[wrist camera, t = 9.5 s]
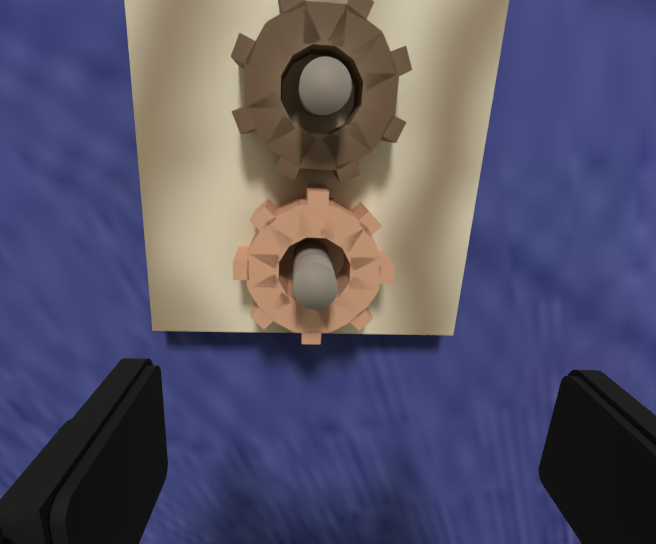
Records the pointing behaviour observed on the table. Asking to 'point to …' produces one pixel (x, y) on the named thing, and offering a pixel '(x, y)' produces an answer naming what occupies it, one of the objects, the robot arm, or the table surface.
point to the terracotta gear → (313, 222)
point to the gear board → (242, 167)
